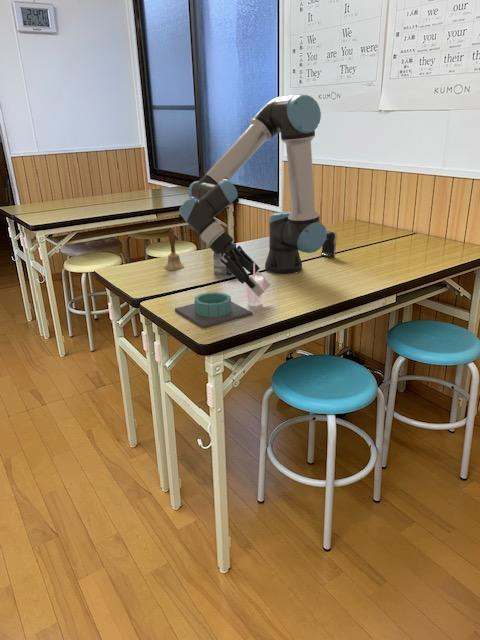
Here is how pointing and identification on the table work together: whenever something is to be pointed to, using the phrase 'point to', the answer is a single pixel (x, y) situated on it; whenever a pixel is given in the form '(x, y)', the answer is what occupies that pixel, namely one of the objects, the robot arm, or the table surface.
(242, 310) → the cup holder
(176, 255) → the hand bell
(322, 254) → the battery charger
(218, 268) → the label tape box
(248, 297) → the beverage cup
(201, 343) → the table surface
